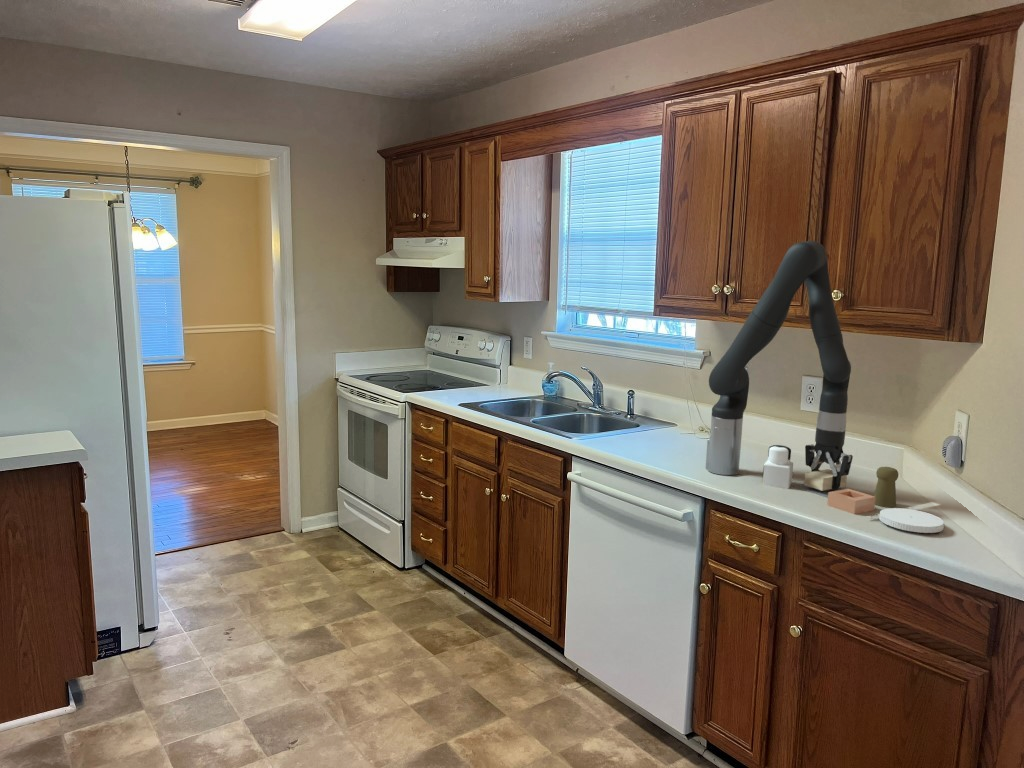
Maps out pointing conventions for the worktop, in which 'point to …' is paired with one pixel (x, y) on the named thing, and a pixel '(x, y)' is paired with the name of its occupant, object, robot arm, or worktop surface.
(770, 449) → the medicine bottle
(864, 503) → the pink hollow block
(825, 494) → the mat
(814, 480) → the cream wooden block
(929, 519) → the plastic lid
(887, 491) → the cork
